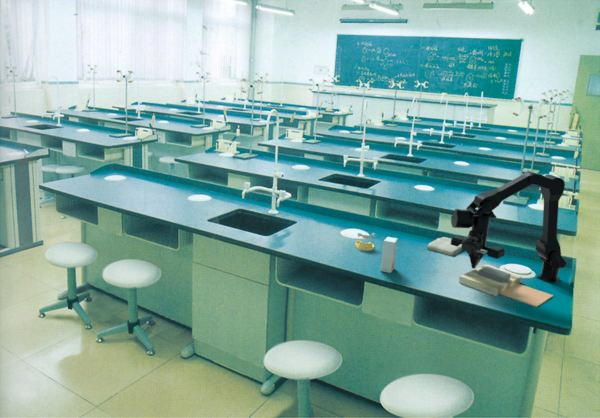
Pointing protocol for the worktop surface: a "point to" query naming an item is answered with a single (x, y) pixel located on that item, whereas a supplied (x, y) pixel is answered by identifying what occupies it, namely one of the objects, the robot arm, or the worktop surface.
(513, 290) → the mat
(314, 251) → the worktop surface
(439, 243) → the washcloth
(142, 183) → the worktop surface
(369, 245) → the dental model
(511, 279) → the cream wavy flat block
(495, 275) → the grey rectangular block
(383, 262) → the skincare box
